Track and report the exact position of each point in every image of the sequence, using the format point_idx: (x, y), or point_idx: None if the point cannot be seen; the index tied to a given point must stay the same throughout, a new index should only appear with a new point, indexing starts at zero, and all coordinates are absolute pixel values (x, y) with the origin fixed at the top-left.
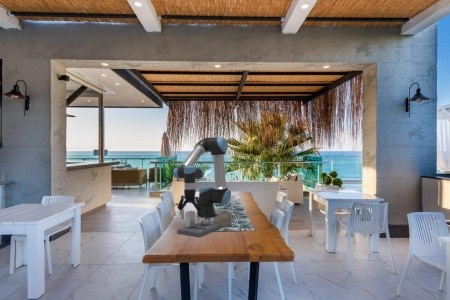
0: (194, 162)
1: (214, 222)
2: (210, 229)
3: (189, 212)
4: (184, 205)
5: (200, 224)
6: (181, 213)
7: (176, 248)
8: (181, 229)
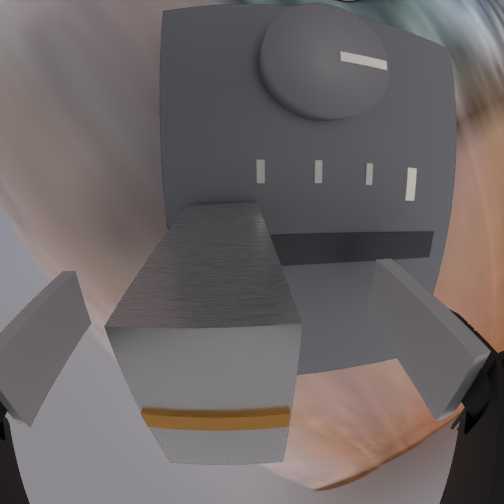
0: None
1: None
2: (447, 212)
3: (271, 459)
4: (5, 500)
5: (247, 72)
6: (51, 384)
7: (361, 453)
8: None
